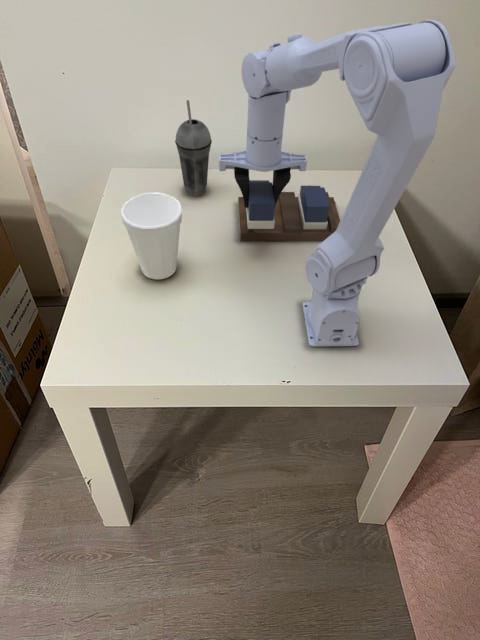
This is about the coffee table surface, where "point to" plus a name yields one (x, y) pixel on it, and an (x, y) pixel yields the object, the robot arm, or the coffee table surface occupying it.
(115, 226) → the coffee table surface
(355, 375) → the coffee table surface
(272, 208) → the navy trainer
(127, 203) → the cup
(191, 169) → the beverage cup
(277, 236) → the slotted wooden tray
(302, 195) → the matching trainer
